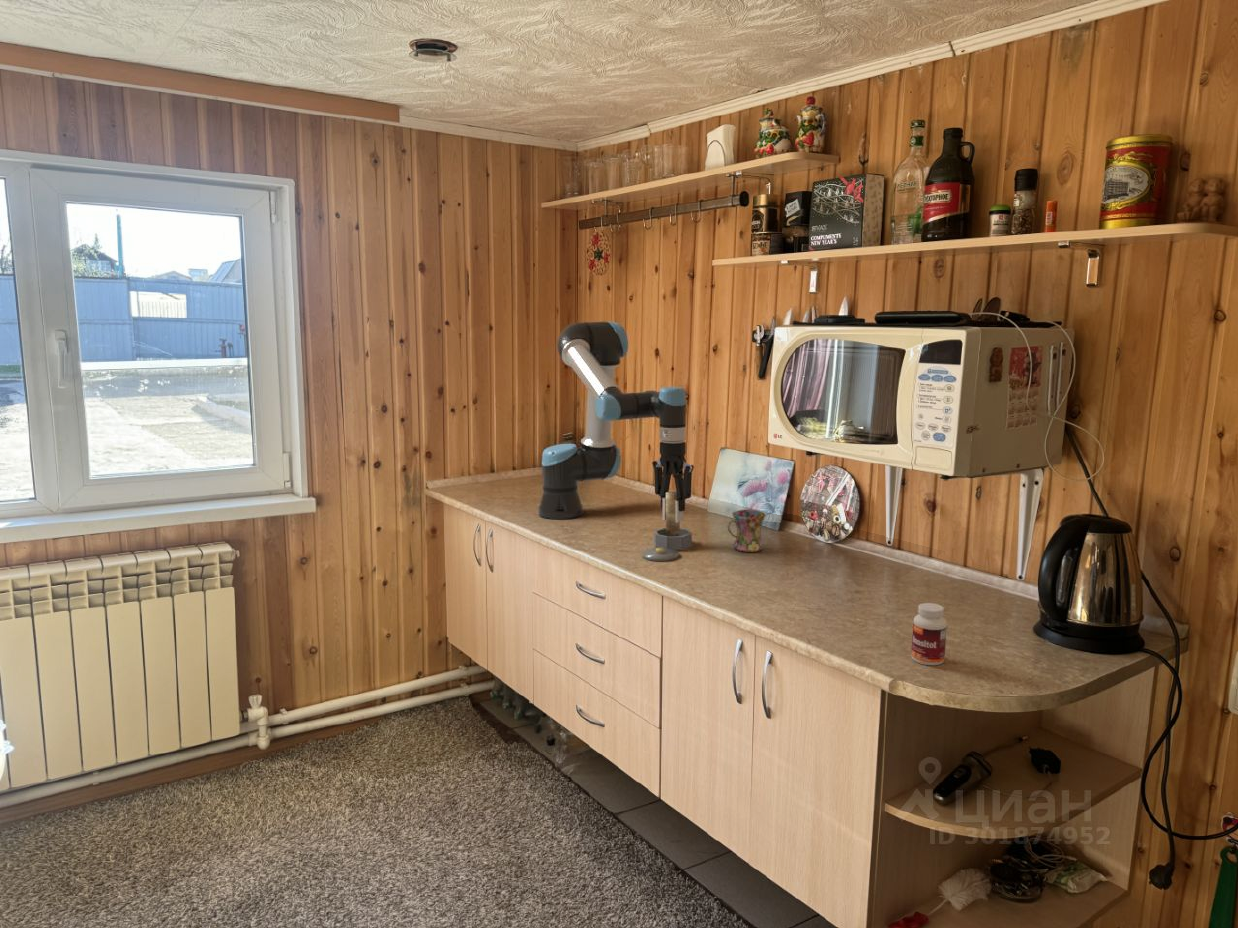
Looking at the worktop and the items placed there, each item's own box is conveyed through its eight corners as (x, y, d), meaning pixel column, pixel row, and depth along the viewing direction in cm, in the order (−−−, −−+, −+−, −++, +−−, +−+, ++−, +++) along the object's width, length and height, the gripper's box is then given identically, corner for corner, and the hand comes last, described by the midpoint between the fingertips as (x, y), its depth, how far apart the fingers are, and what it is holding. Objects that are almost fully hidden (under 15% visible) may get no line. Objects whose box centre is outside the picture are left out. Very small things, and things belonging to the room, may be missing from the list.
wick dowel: (663, 533, 251) (663, 493, 249) (671, 530, 254) (671, 490, 252) (674, 535, 248) (674, 494, 246) (682, 532, 251) (682, 492, 249)
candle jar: (647, 546, 251) (647, 532, 251) (669, 538, 259) (669, 525, 258) (676, 552, 244) (676, 539, 244) (698, 544, 252) (698, 531, 252)
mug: (751, 543, 253) (752, 508, 251) (771, 551, 245) (772, 514, 243) (718, 549, 247) (718, 513, 245) (737, 557, 239) (737, 520, 237)
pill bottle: (905, 660, 169) (908, 607, 167) (918, 651, 174) (921, 599, 172) (937, 669, 165) (940, 614, 163) (949, 659, 169) (952, 606, 167)
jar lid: (635, 557, 241) (635, 549, 240) (657, 549, 248) (657, 541, 248) (663, 563, 234) (663, 555, 234) (685, 555, 242) (685, 547, 241)
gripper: (641, 440, 249) (642, 518, 253) (688, 445, 238) (688, 527, 242) (657, 437, 254) (657, 513, 259) (704, 442, 243) (704, 522, 248)
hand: (672, 520), depth 250 cm, fingers closed on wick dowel, 4 cm apart
